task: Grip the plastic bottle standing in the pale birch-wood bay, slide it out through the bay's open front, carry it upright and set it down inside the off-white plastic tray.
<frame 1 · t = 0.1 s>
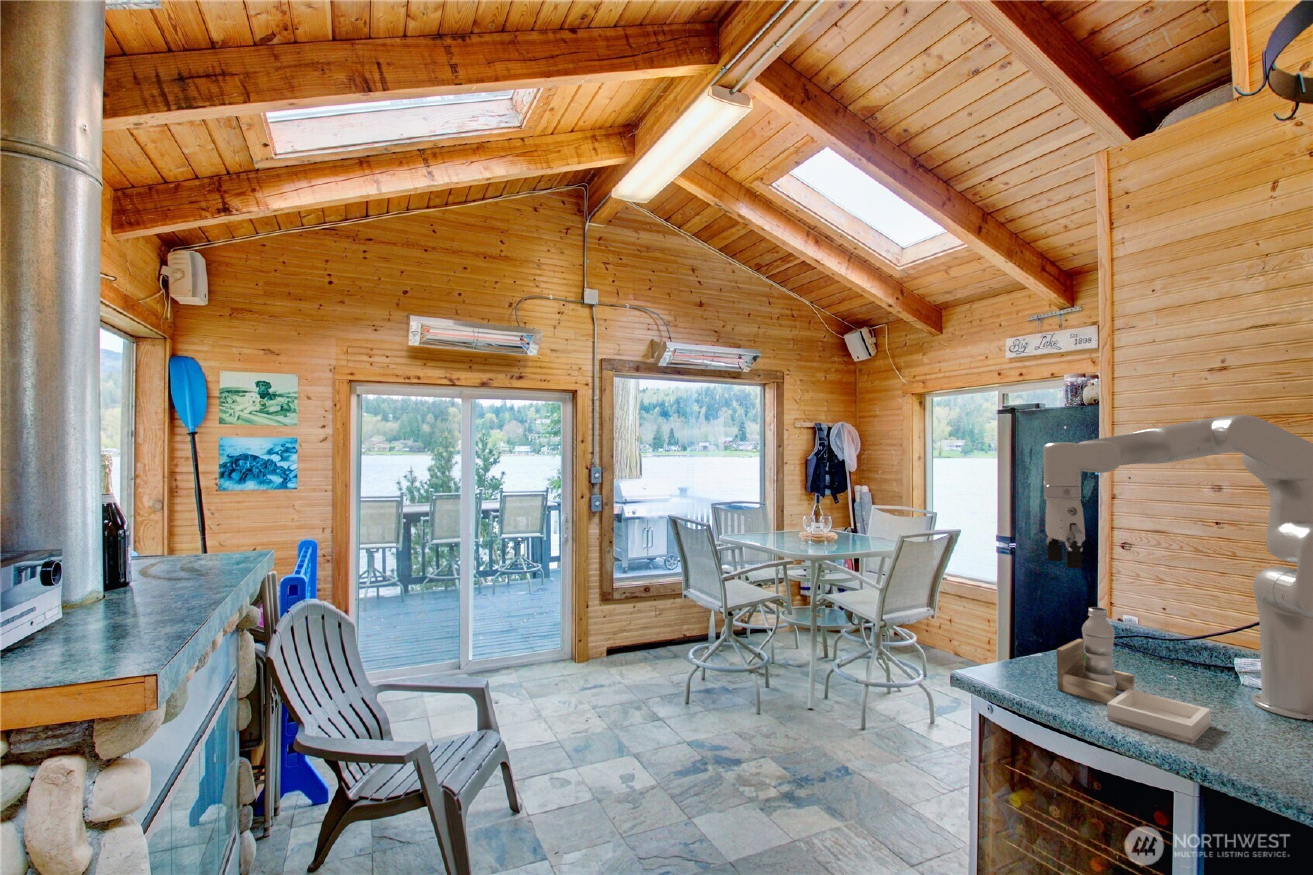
hand: (1064, 564, 151), 31 cm above the worktop, tool pointing down, fingers open, 9 cm apart
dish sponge: (1089, 670, 168), on the worktop
bay: (1100, 691, 152), on the worktop
tray: (1158, 722, 134), on the worktop
plastic bottle: (1100, 692, 151), on the worktop
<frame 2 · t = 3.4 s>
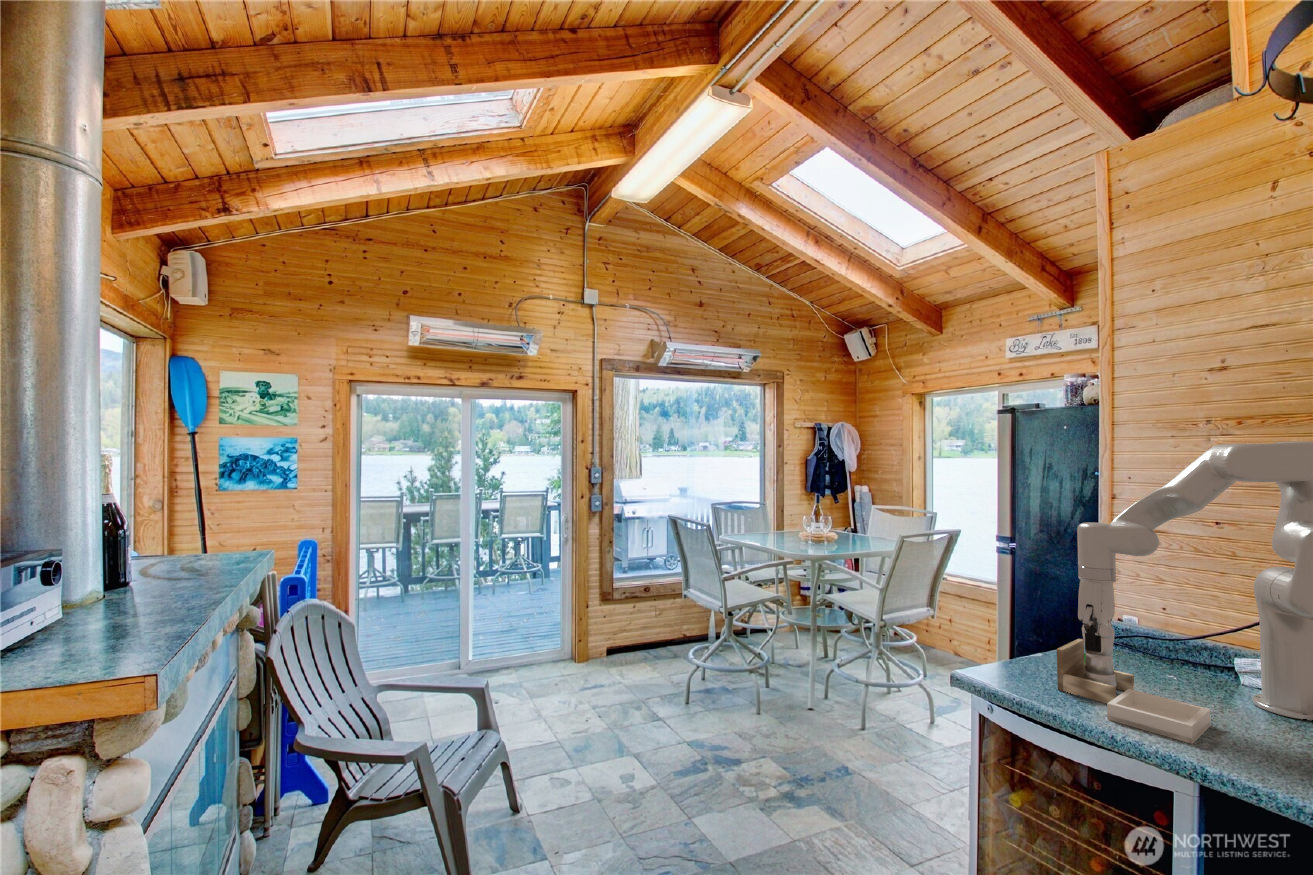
hand: (1098, 647, 152), 11 cm above the worktop, tool pointing down, fingers closed on plastic bottle, 6 cm apart
plastic bottle: (1100, 692, 151), on the worktop, touching gripper
everything else where it was.
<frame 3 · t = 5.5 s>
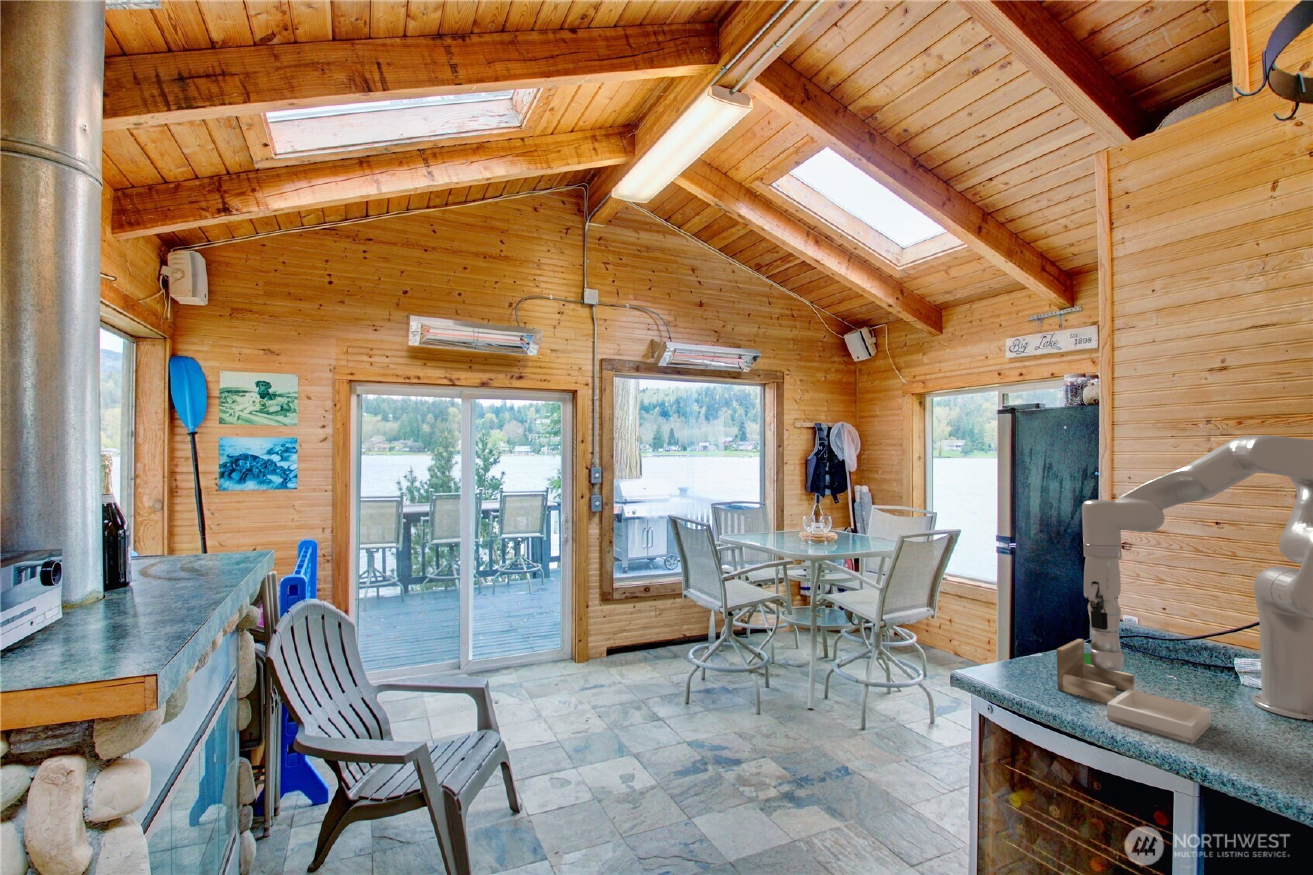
hand: (1105, 625, 151), 16 cm above the worktop, tool pointing down, fingers closed on plastic bottle, 6 cm apart
plastic bottle: (1106, 670, 151), point 5 cm above the worktop, touching gripper
everything else where it was.
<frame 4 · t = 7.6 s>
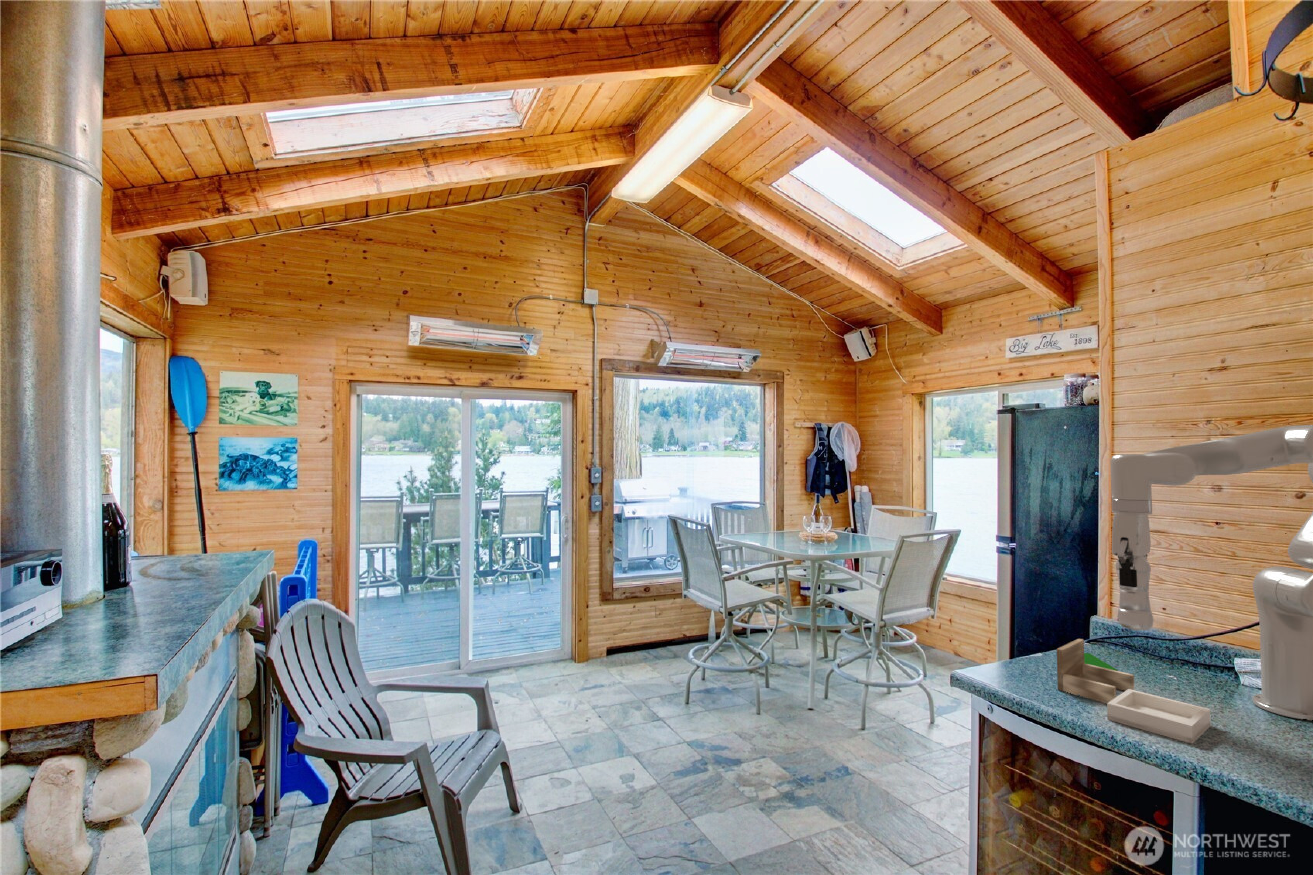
hand: (1134, 583, 145), 27 cm above the worktop, tool pointing down, fingers closed on plastic bottle, 6 cm apart
plastic bottle: (1135, 630, 145), point 17 cm above the worktop, touching gripper
everything else where it was.
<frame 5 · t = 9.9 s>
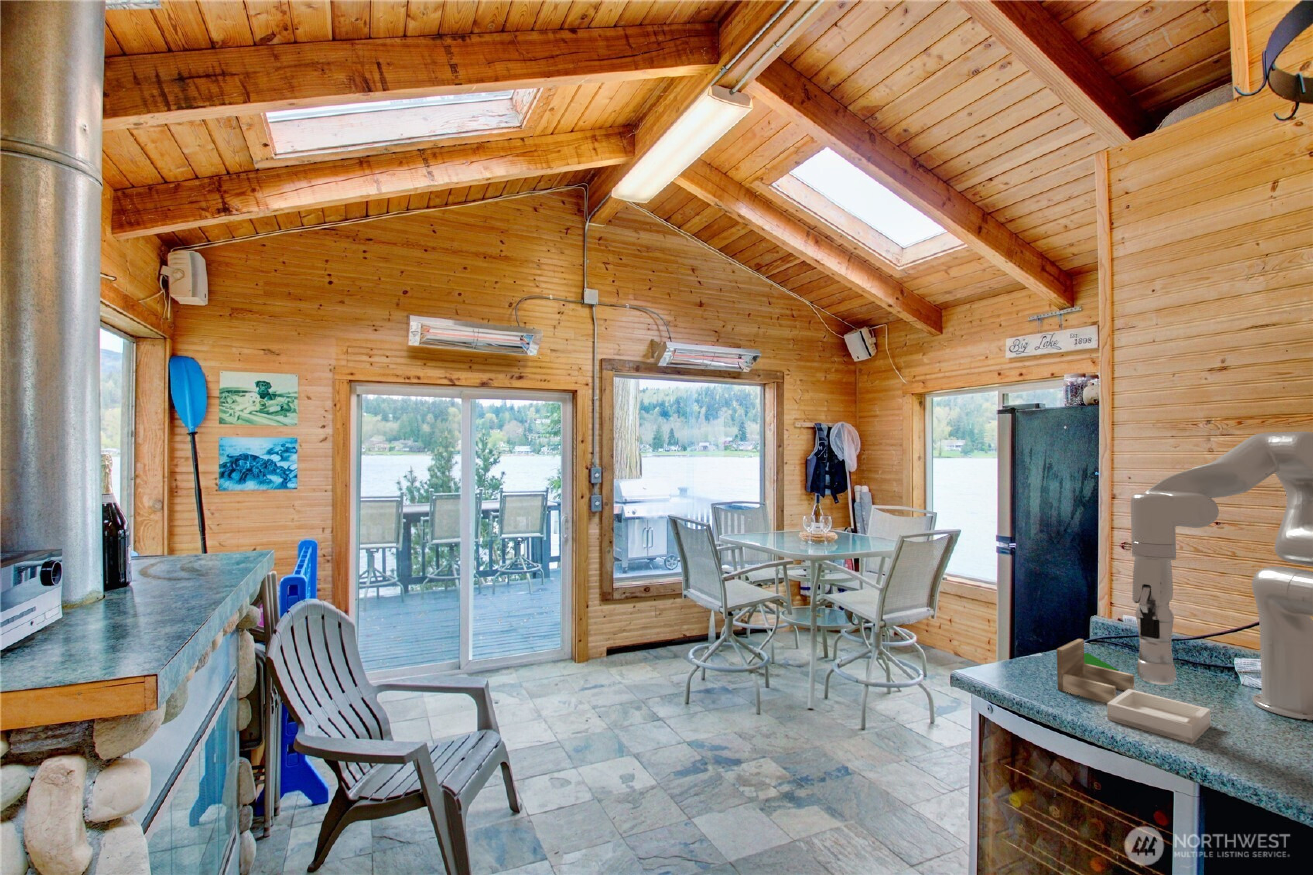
hand: (1155, 633, 135), 19 cm above the worktop, tool pointing down, fingers closed on plastic bottle, 6 cm apart
plastic bottle: (1156, 684, 134), point 8 cm above the worktop, touching gripper
everything else where it was.
when the fingers open (13 cm above the worktop, at t = 11.9 s): plastic bottle drops 1 cm, resting on tray.
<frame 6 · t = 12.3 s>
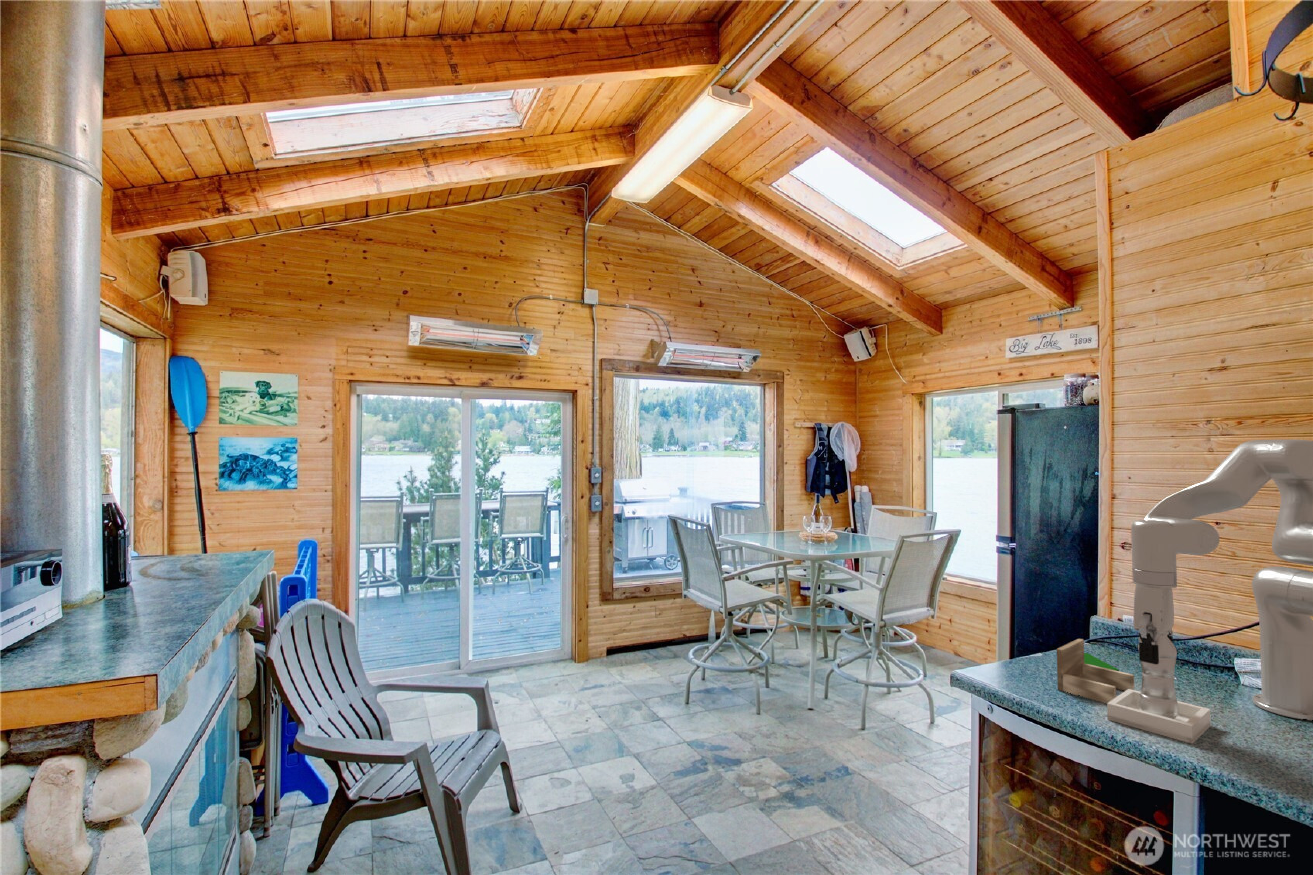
hand: (1156, 657, 135), 14 cm above the worktop, tool pointing down, fingers open, 9 cm apart
plastic bottle: (1158, 718, 134), point 1 cm above the worktop, touching tray
everything else where it was.
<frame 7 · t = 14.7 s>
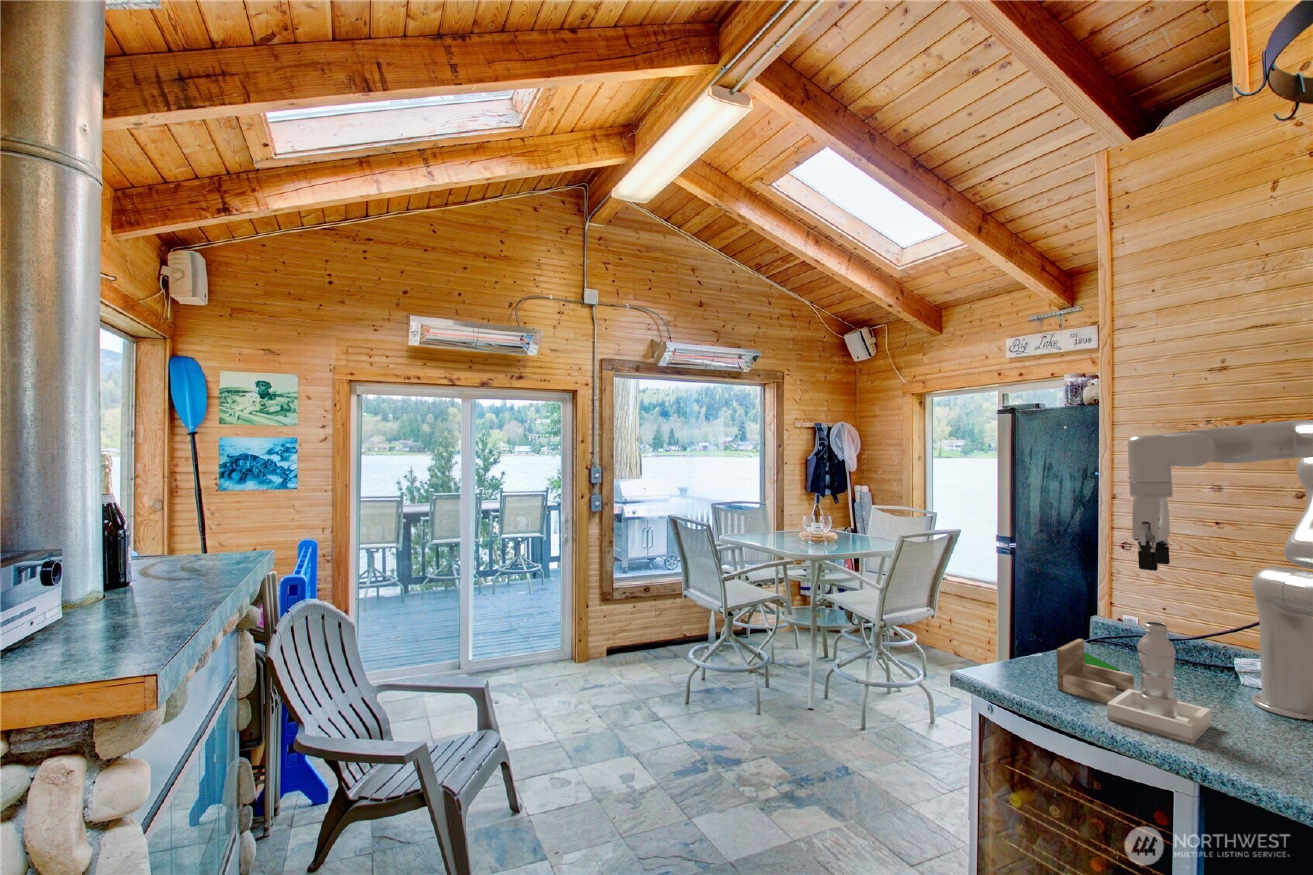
hand: (1154, 566, 140), 32 cm above the worktop, tool pointing down, fingers open, 9 cm apart
nothing on the worktop moved.
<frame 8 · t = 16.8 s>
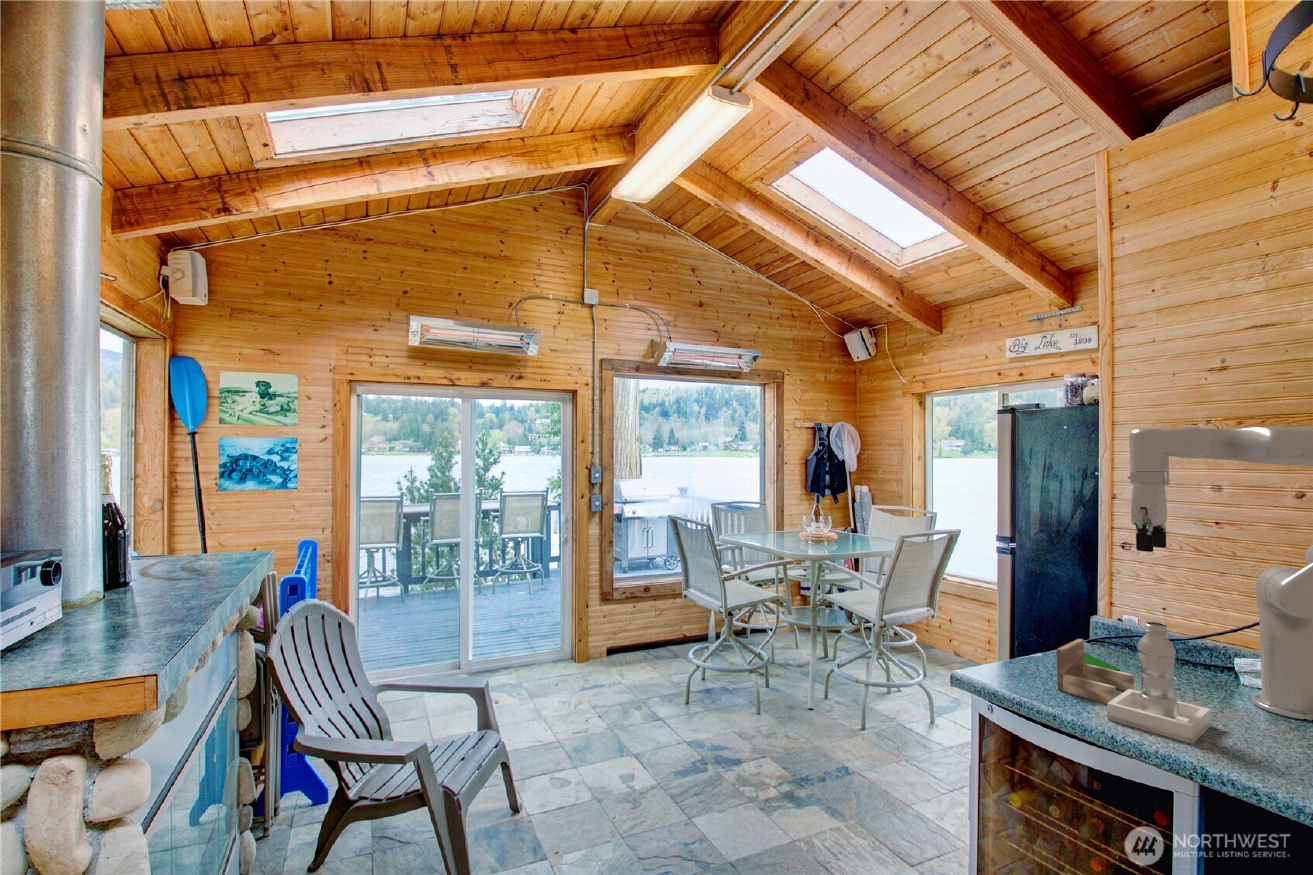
hand: (1151, 549, 152), 34 cm above the worktop, tool pointing down, fingers open, 9 cm apart
nothing on the worktop moved.
at the end: plastic bottle inside the target area on the tray (0.2 cm from its centre), point 0.8 cm above the tray's base; plastic bottle tilted 0°; the gripper is holding nothing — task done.
